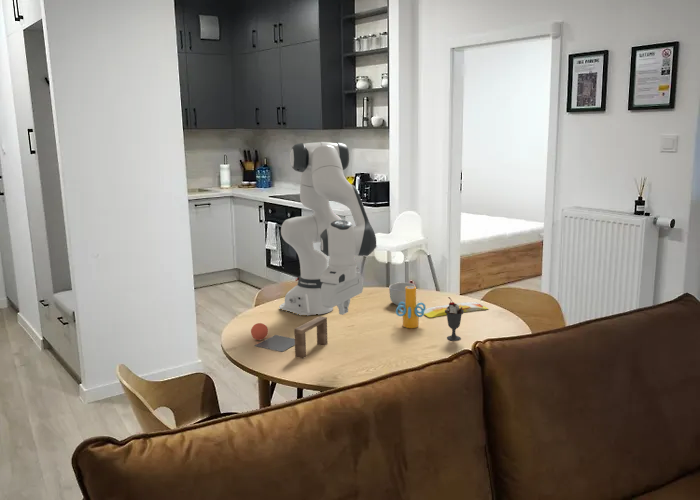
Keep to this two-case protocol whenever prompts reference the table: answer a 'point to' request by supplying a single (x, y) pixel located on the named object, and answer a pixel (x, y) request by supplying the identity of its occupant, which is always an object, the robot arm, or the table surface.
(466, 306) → the food package
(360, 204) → the robot arm
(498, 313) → the table surface
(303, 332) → the bridge
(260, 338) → the ball
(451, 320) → the sundae
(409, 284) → the teacup
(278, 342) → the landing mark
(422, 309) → the cylinder
